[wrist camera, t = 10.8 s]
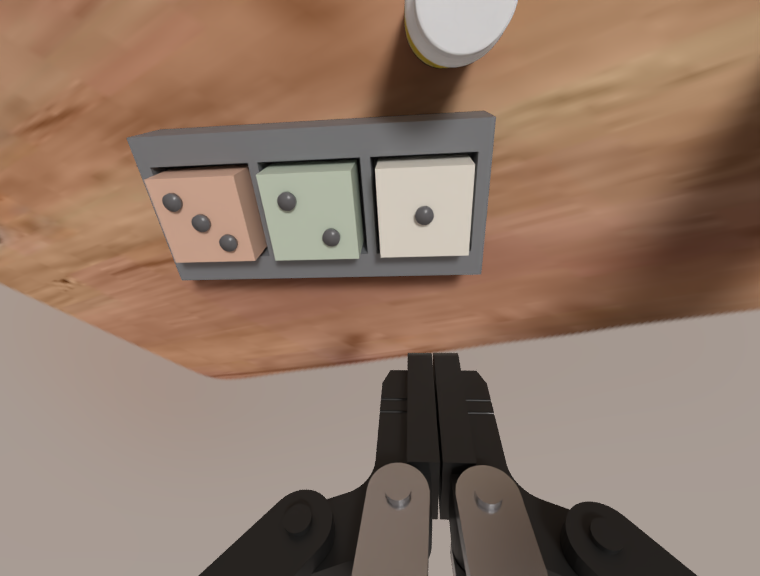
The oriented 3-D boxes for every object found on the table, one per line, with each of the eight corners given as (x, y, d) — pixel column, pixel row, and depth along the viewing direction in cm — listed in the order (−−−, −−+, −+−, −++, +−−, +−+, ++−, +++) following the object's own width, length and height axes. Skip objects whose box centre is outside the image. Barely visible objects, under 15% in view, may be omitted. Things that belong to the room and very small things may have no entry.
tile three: (251, 164, 24) (230, 177, 21) (269, 242, 27) (253, 262, 24) (171, 168, 24) (140, 181, 22) (197, 244, 27) (173, 264, 25)
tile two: (356, 159, 23) (349, 171, 21) (364, 240, 26) (358, 260, 23) (272, 163, 24) (253, 176, 21) (288, 242, 27) (274, 262, 24)
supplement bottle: (439, 86, 23) (454, 94, 16) (387, 19, 21) (377, -6, 14) (504, 20, 21) (556, -5, 14) (453, -59, 19) (481, -134, 12)
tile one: (467, 153, 23) (476, 165, 20) (462, 236, 26) (469, 257, 23) (378, 158, 23) (374, 170, 20) (383, 239, 26) (380, 259, 23)
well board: (484, 110, 23) (496, 116, 20) (473, 252, 28) (481, 274, 25) (159, 129, 25) (126, 137, 22) (204, 259, 30) (181, 280, 27)
